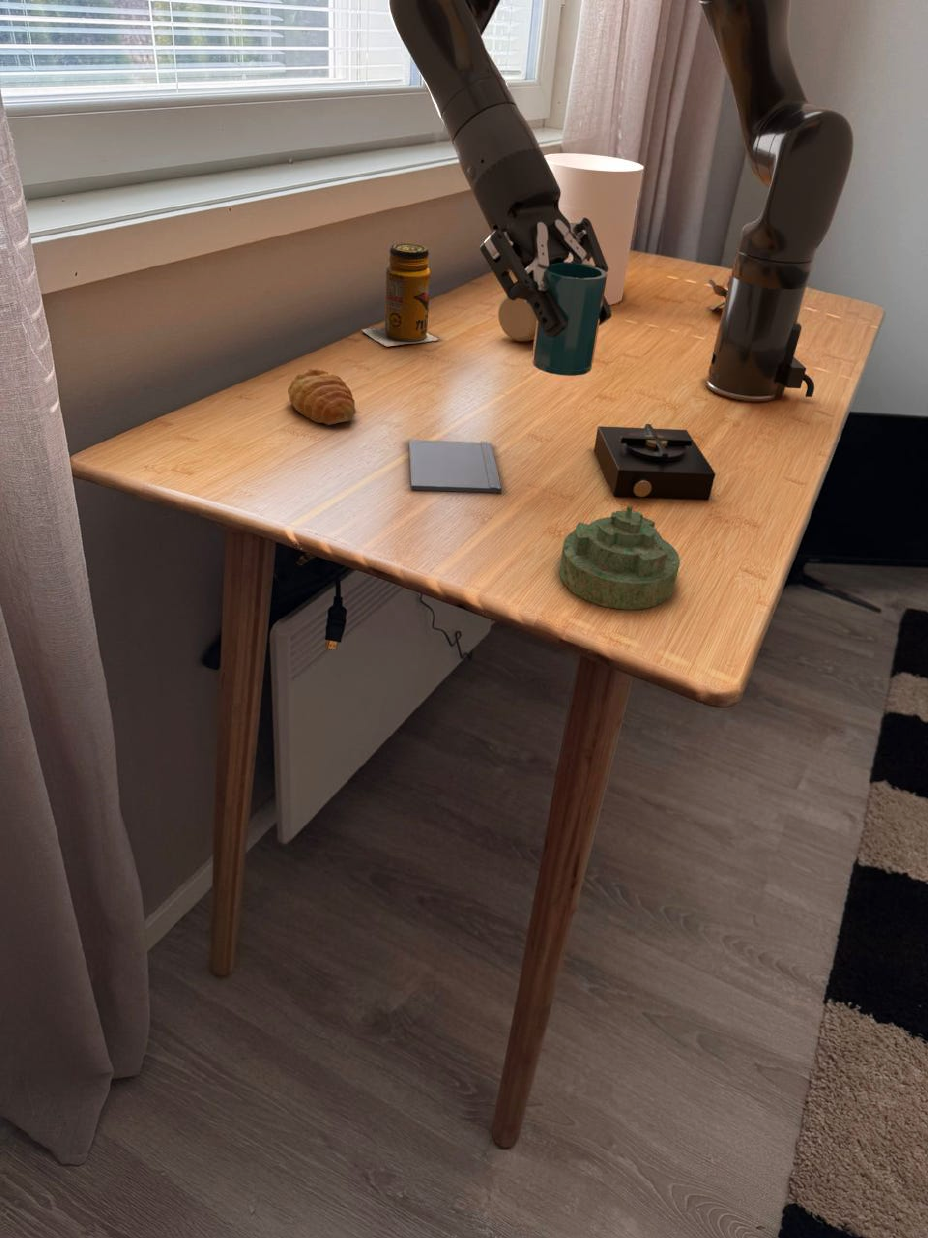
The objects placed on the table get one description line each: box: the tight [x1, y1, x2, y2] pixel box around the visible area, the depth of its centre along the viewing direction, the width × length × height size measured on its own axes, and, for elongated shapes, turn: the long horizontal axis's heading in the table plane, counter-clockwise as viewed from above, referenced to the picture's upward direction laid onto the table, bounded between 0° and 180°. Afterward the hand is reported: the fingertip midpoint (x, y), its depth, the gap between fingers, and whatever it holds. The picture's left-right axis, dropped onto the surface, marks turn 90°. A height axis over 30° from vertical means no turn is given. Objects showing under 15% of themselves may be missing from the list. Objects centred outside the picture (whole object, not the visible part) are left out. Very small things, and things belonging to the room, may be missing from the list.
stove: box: [593, 423, 716, 501], centre depth 97 cm, size 10×12×4 cm
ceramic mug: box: [497, 294, 537, 342], centre depth 132 cm, size 11×8×8 cm
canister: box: [544, 152, 645, 306], centre depth 151 cm, size 16×16×20 cm
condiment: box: [361, 242, 439, 347], centre depth 127 cm, size 7×8×12 cm
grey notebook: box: [408, 439, 502, 494], centre depth 97 cm, size 9×11×1 cm
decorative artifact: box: [558, 504, 681, 611], centre depth 79 cm, size 10×7×10 cm
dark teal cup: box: [531, 262, 607, 377], centre depth 90 cm, size 6×6×9 cm
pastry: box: [287, 368, 357, 426], centre depth 105 cm, size 9×7×4 cm
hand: (581, 326), depth 89 cm, fingers closed on dark teal cup, 6 cm apart
